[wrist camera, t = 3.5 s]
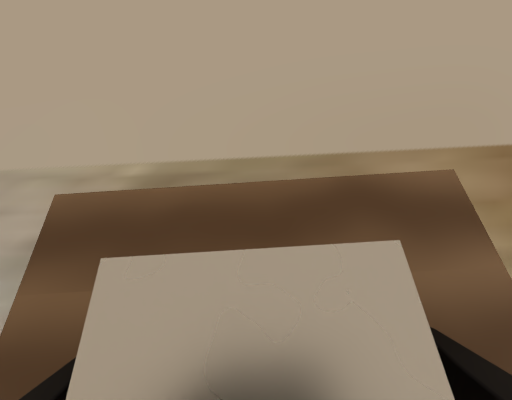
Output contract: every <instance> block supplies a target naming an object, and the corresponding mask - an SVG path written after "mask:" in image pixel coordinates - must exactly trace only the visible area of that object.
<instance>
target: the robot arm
mask: <svg viewBox="0 0 512 400" xmlns="http://www.w3.org/2000/svg"><path fill="white" fill-rule="evenodd" d="M430 329H431V332H432V335H433V338H434V341H435V344H436V347H437V350H438V353H439V356H440V359H441V361H442V364H443V367H444V370H445V373H446V376H447V379H448V382H449V385H450V388H451V391H452V394H453V396H454V399H455V400H512V375H511V374H509V373H508V372H506V371H504V370H503V369H501V368H499V367H498V366H496V365H494V364H493V363H491V362H489V361H488V360H486V359H484V358H483V357H481V356H479V355H478V354H476V353H474V352H473V351H471V350H469V349H468V348H466V347H464V346H463V345H461V344H459V343H458V342H456V341H454V340H453V339H451V338H449V337H448V336H446V335H444V334H443V333H441V332H439V331H438V330H436V329H434V328H432V327H430ZM75 360H76V357H75V358H74V359H72V360H71V361H70V362H68V363H67V364H66V365H64V366H63V367H62V368H60V369H59V370H58V371H56V372H55V373H54V374H52V375H51V376H50V377H48V378H47V379H46V380H44V381H43V382H42V383H40V384H39V385H38V386H36V387H35V388H33V389H32V390H31V391H29V392H28V393H27V394H25V395H24V396H23V397H21V398H20V399H19V400H66V396H67V392H68V388H69V384H70V380H71V376H72V372H73V368H74V364H75Z"/></svg>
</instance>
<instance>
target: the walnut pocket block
mask: <svg viewBox="0 0 512 400" xmlns="http://www.w3.org/2000/svg"><path fill="white" fill-rule="evenodd" d="M392 240H400V242H401V245H402V248H403V251H404V254H405V257H406V259H407V262H408V265H409V268H410V271H411V274H412V277H413V280H414V283H415V286H416V289H417V292H418V294H419V297H420V300H421V303H422V306H423V309H424V312H425V315H426V318H427V321H428V324H429V327H432V328H434V329H436V330H438V331H439V332H441V333H443V334H444V335H446V336H448V337H449V338H451V339H453V340H454V341H456V342H458V343H459V344H461V345H463V346H464V347H466V348H468V349H469V350H471V351H473V352H474V353H476V354H478V355H479V356H481V357H483V358H484V359H486V360H488V361H489V362H491V363H493V364H494V365H496V366H498V367H499V368H501V369H503V370H504V371H506V372H508V373H509V374H511V375H512V279H511V277H510V276H509V274H508V272H507V270H506V268H505V266H504V264H503V262H502V260H501V258H500V257H499V255H498V253H497V251H496V249H495V247H494V245H493V243H492V241H491V239H490V238H489V236H488V234H487V232H486V230H485V228H484V226H483V224H482V222H481V220H480V219H479V217H478V215H477V213H476V211H475V209H474V207H473V205H472V203H471V201H470V200H469V198H468V196H467V194H466V192H465V190H464V188H463V186H462V184H461V182H460V181H459V179H458V177H457V175H456V173H455V171H454V169H453V170H437V171H421V172H405V173H390V174H374V175H358V176H342V177H327V178H311V179H295V180H279V181H263V182H248V183H232V184H216V185H200V186H184V187H169V188H153V189H137V190H121V191H105V192H90V193H74V194H58V195H55V196H54V198H53V201H52V204H51V206H50V209H49V211H48V214H47V216H46V219H45V222H44V224H43V227H42V229H41V232H40V235H39V237H38V240H37V242H36V245H35V248H34V250H33V253H32V255H31V258H30V261H29V263H28V266H27V268H26V271H25V274H24V276H23V279H22V281H21V284H20V286H19V289H18V292H17V294H16V297H15V299H14V302H13V305H12V307H11V310H10V312H9V315H8V318H7V320H6V323H5V325H4V328H3V331H2V333H1V336H0V400H19V399H20V398H21V397H23V396H24V395H25V394H27V393H28V392H29V391H31V390H32V389H33V388H35V387H36V386H38V385H39V384H40V383H42V382H43V381H44V380H46V379H47V378H48V377H50V376H51V375H52V374H54V373H55V372H56V371H58V370H59V369H60V368H62V367H63V366H64V365H66V364H67V363H68V362H70V361H71V360H72V359H74V358H75V357H76V356H77V352H78V348H79V344H80V340H81V336H82V332H83V328H84V324H85V320H86V316H87V312H88V308H89V304H90V300H91V296H92V292H93V288H94V284H95V280H96V276H97V272H98V268H99V264H100V260H101V258H114V257H130V256H147V255H163V254H179V253H196V252H212V251H228V250H245V249H261V248H277V247H294V246H310V245H326V244H343V243H359V242H375V241H392Z"/></svg>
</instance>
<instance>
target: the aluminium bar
mask: <svg viewBox="0 0 512 400" xmlns="http://www.w3.org/2000/svg"><path fill="white" fill-rule="evenodd" d="M66 400H455V399H454V396H453V394H452V391H451V388H450V385H449V382H448V379H447V376H446V373H445V370H444V367H443V364H442V361H441V359H440V356H439V353H438V350H437V347H436V344H435V341H434V338H433V335H432V332H431V329H430V327H429V324H428V321H427V318H426V315H425V312H424V309H423V306H422V303H421V300H420V297H419V294H418V292H417V289H416V286H415V283H414V280H413V277H412V274H411V271H410V268H409V265H408V262H407V259H406V257H405V254H404V251H403V248H402V245H401V242H400V240H392V241H375V242H359V243H343V244H326V245H310V246H294V247H277V248H261V249H245V250H228V251H212V252H196V253H179V254H163V255H147V256H130V257H114V258H101V260H100V264H99V268H98V272H97V276H96V280H95V284H94V288H93V292H92V296H91V300H90V304H89V308H88V312H87V316H86V320H85V324H84V328H83V332H82V336H81V340H80V344H79V348H78V352H77V356H76V360H75V364H74V368H73V372H72V376H71V380H70V384H69V388H68V392H67V396H66Z"/></svg>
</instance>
